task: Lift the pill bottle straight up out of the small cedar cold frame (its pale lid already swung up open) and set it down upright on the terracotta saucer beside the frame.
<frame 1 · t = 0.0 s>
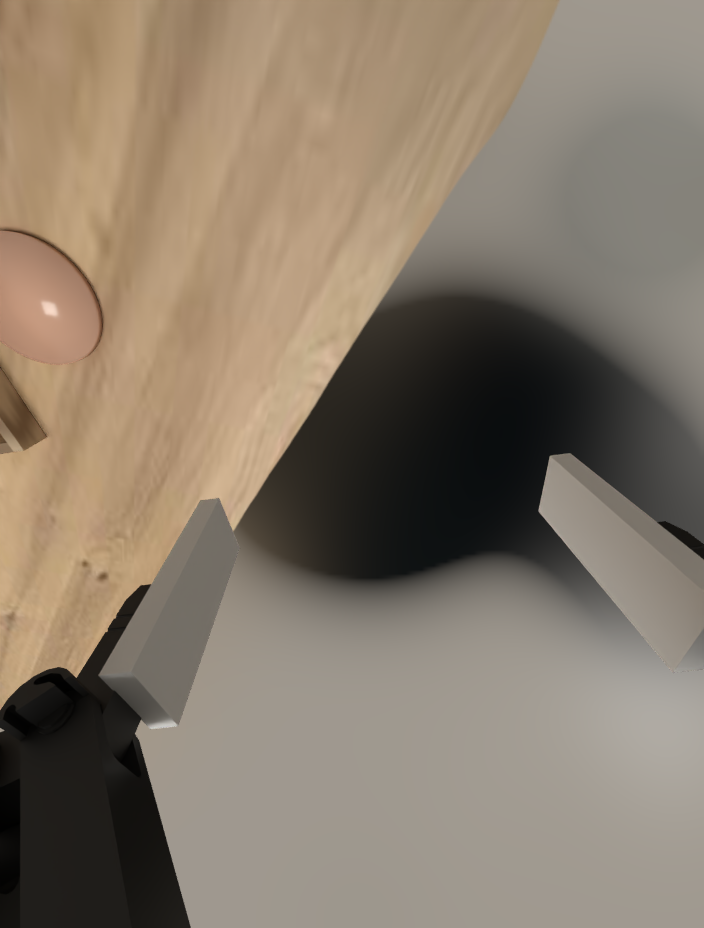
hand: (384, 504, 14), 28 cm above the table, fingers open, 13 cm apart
saucer: (37, 302, 34), on the table
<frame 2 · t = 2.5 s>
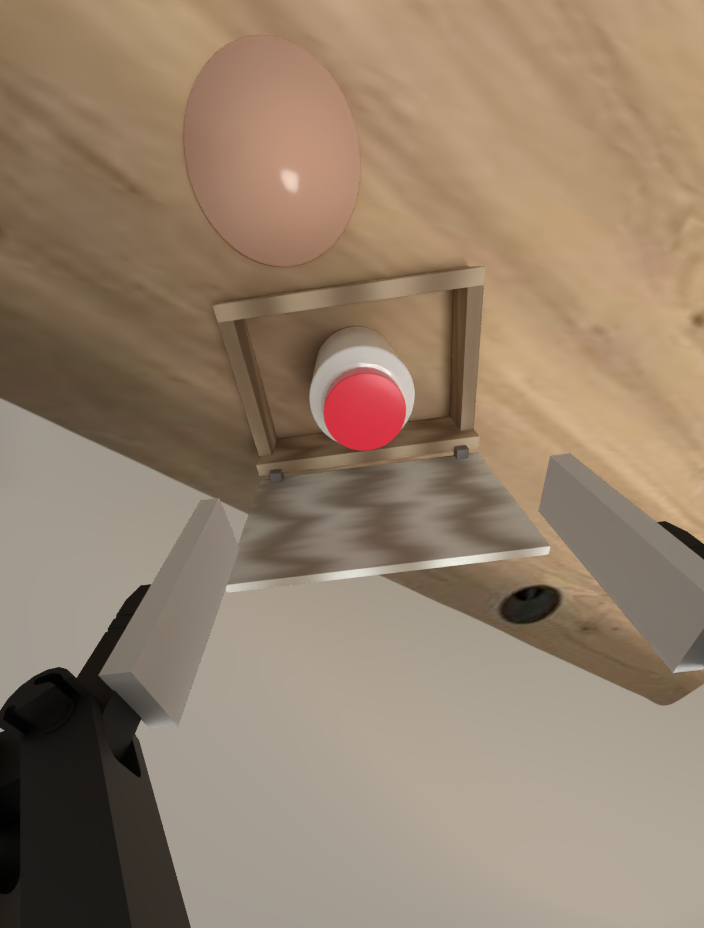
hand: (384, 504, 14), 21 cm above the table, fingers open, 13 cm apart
cold frame: (356, 370, 31), on the table
saucer: (276, 169, 24), on the table
pill bottle: (355, 369, 32), resting in cold frame
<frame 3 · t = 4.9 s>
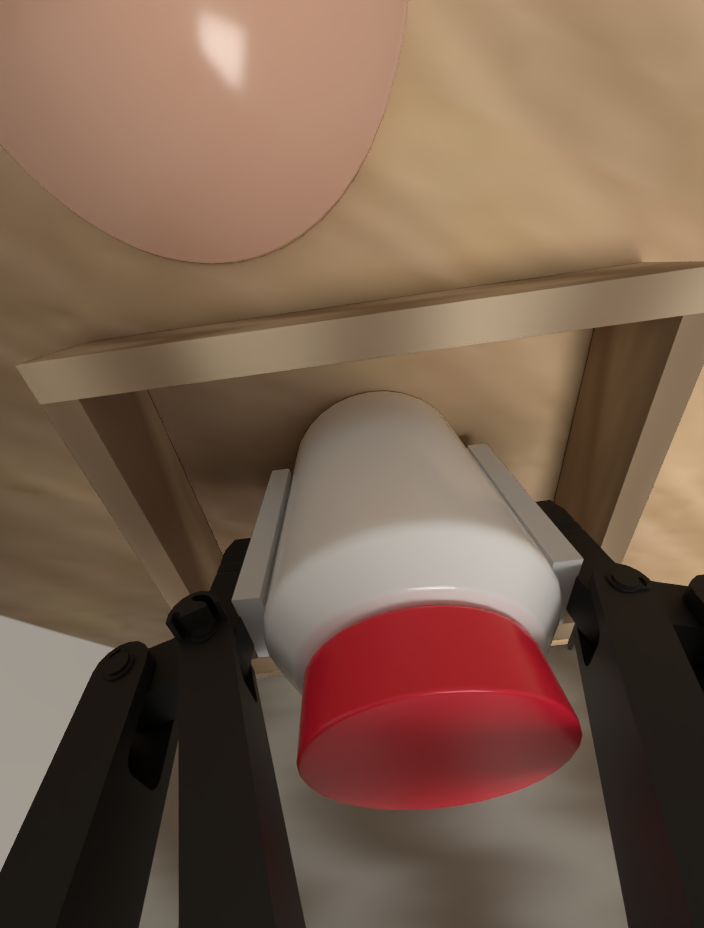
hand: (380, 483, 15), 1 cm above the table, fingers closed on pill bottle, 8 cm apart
cold frame: (377, 468, 16), on the table
pill bottle: (377, 466, 16), resting in cold frame, touching gripper
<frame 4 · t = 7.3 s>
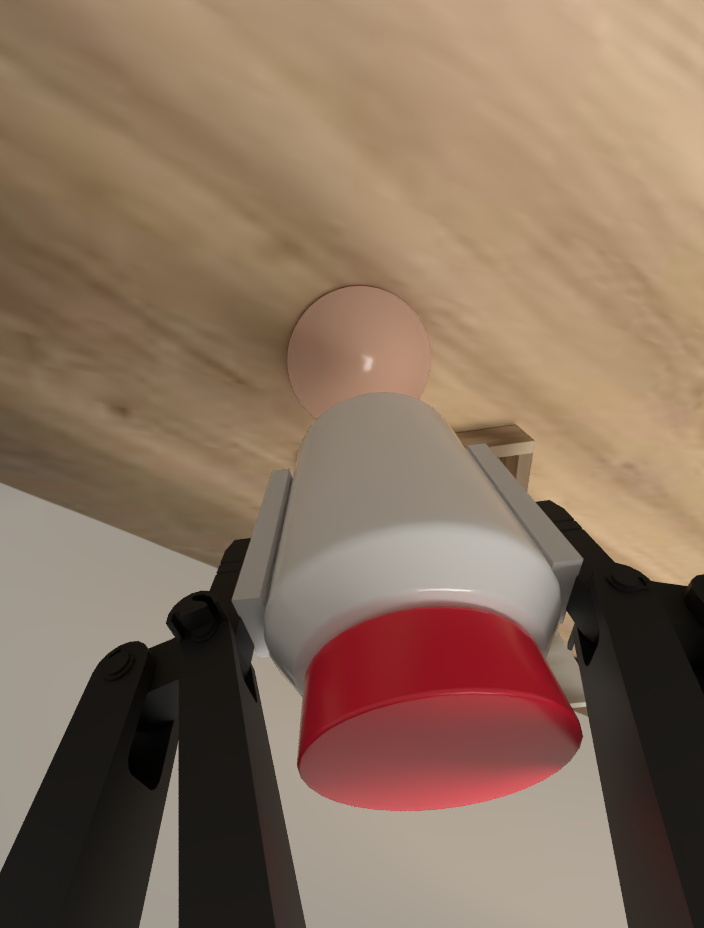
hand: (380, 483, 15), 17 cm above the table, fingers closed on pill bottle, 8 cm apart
cold frame: (413, 498, 36), on the table
saucer: (358, 364, 29), on the table
pill bottle: (377, 467, 16), point 15 cm above the table, touching gripper
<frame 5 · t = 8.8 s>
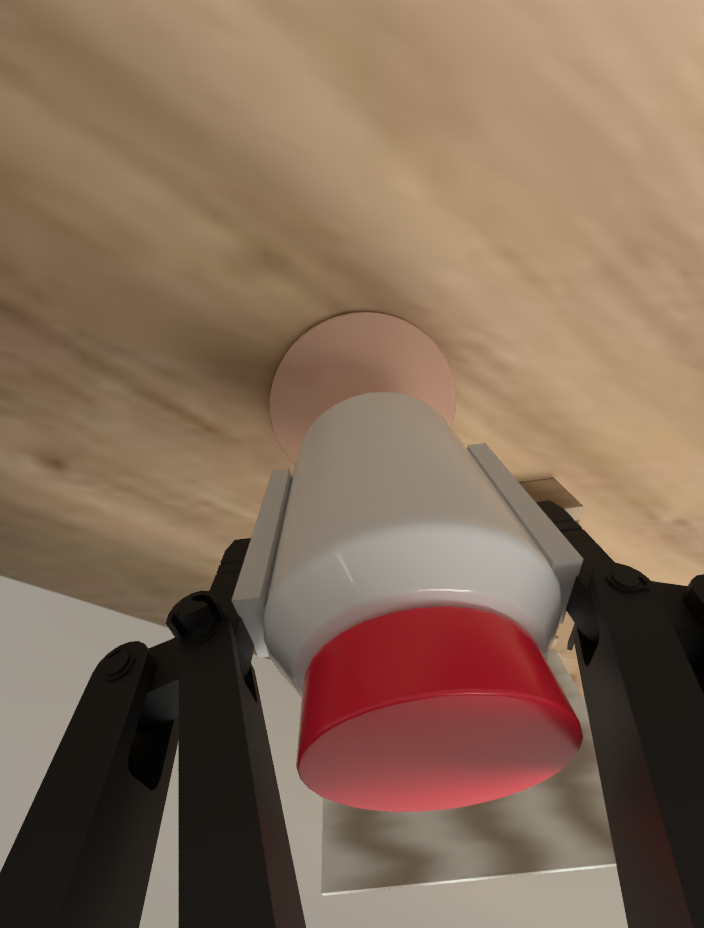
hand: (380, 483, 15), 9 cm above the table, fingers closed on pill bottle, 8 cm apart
cold frame: (425, 559, 30), on the table
saucer: (362, 409, 22), on the table
pill bottle: (377, 467, 16), point 7 cm above the table, touching gripper
when the fingers open (3 cm above the table, at t = 10.1 s): pill bottle stays where it is, resting on saucer.
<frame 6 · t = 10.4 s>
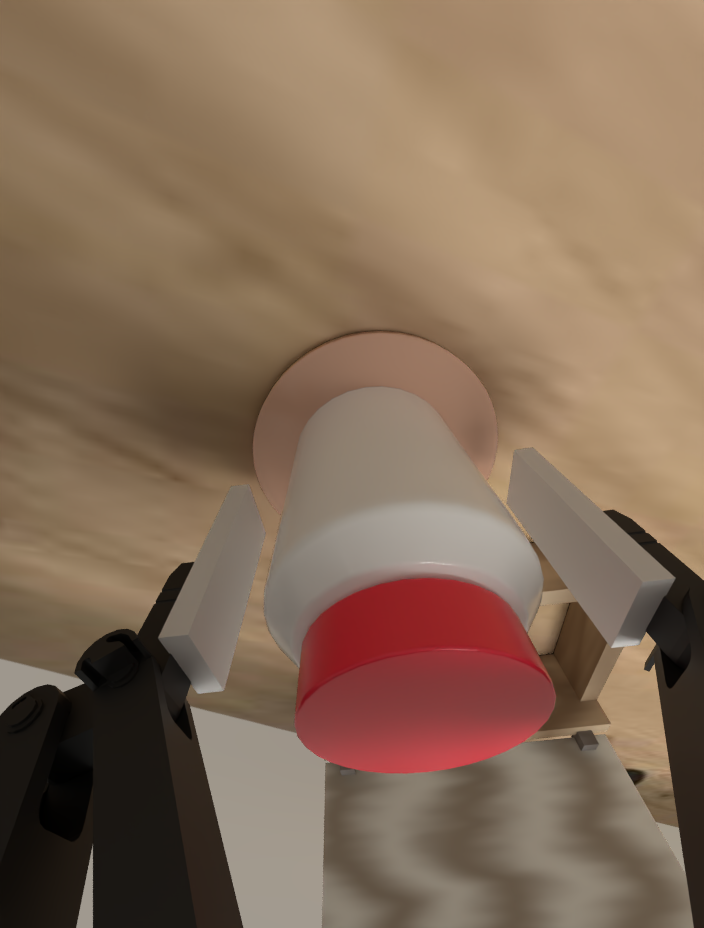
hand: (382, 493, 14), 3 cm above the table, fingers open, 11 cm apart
cold frame: (446, 622, 25), on the table
saucer: (374, 454, 17), on the table
pill bottle: (373, 460, 17), point 1 cm above the table, touching saucer
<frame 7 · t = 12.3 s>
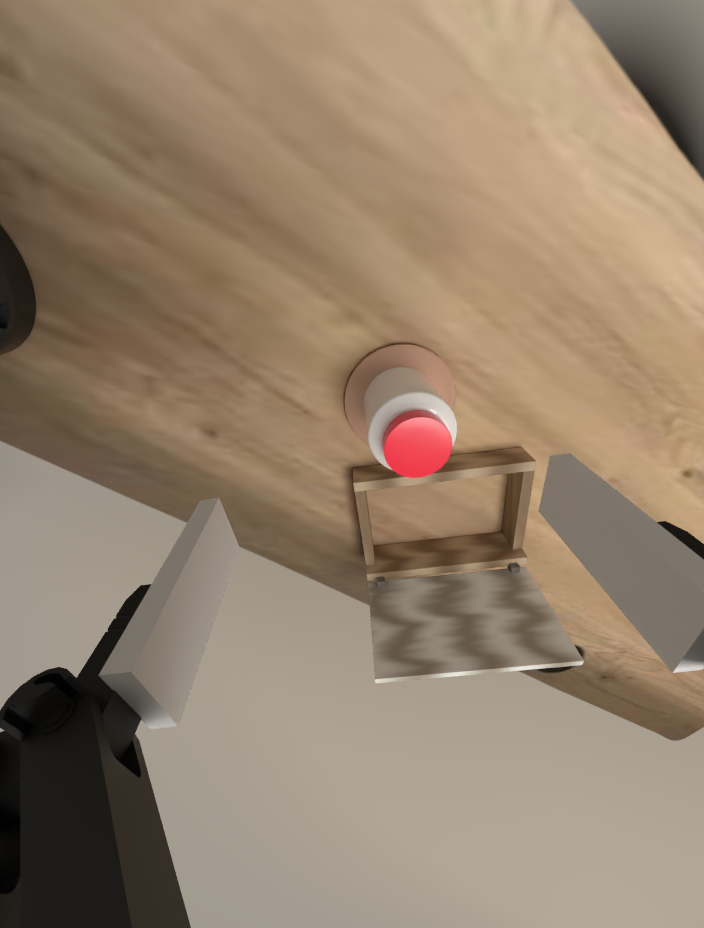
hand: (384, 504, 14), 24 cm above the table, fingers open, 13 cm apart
cold frame: (436, 504, 44), on the table
saucer: (399, 400, 37), on the table
pill bottle: (398, 402, 36), point 1 cm above the table, touching saucer
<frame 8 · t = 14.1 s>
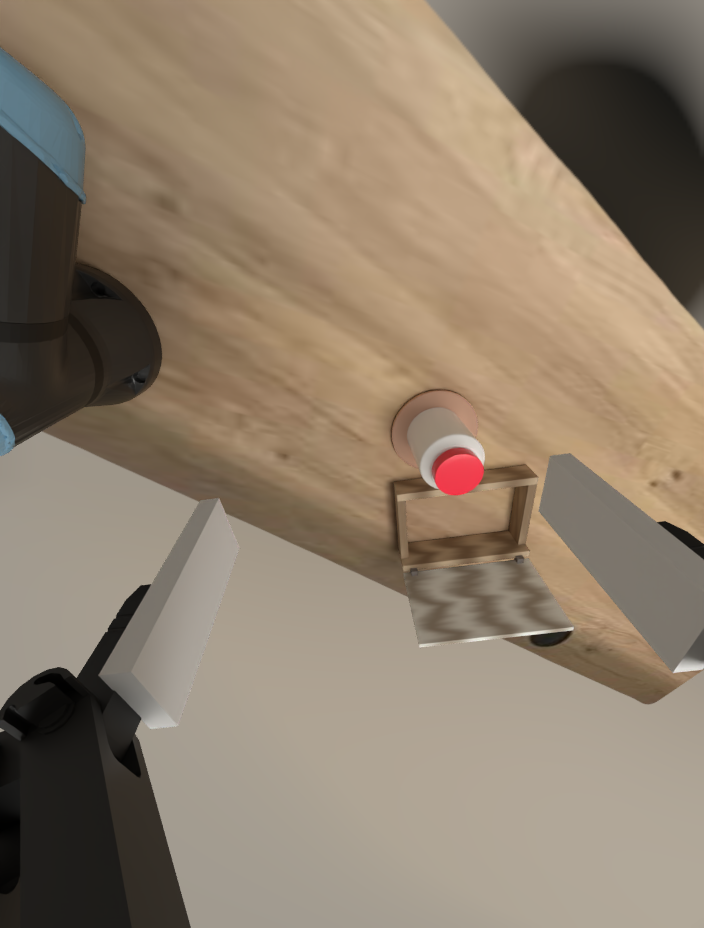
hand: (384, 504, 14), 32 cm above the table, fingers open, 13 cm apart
cold frame: (457, 509, 55), on the table
saucer: (433, 430, 47), on the table
pill bottle: (433, 432, 47), point 1 cm above the table, touching saucer
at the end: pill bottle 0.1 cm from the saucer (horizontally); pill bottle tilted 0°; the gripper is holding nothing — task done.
